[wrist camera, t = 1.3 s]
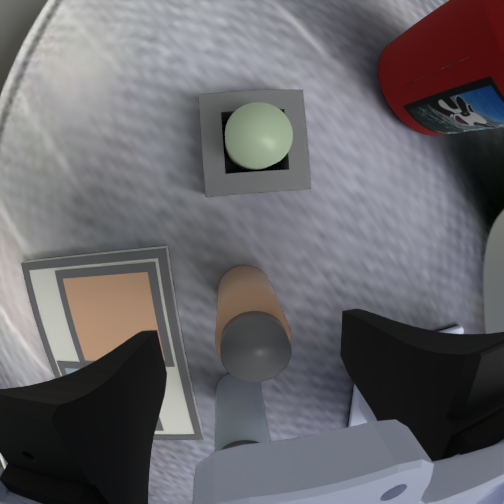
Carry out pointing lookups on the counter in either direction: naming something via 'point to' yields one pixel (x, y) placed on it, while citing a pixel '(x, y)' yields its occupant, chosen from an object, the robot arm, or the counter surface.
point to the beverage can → (448, 69)
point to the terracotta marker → (251, 326)
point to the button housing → (286, 179)
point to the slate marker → (239, 413)
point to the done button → (257, 136)
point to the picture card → (114, 320)
